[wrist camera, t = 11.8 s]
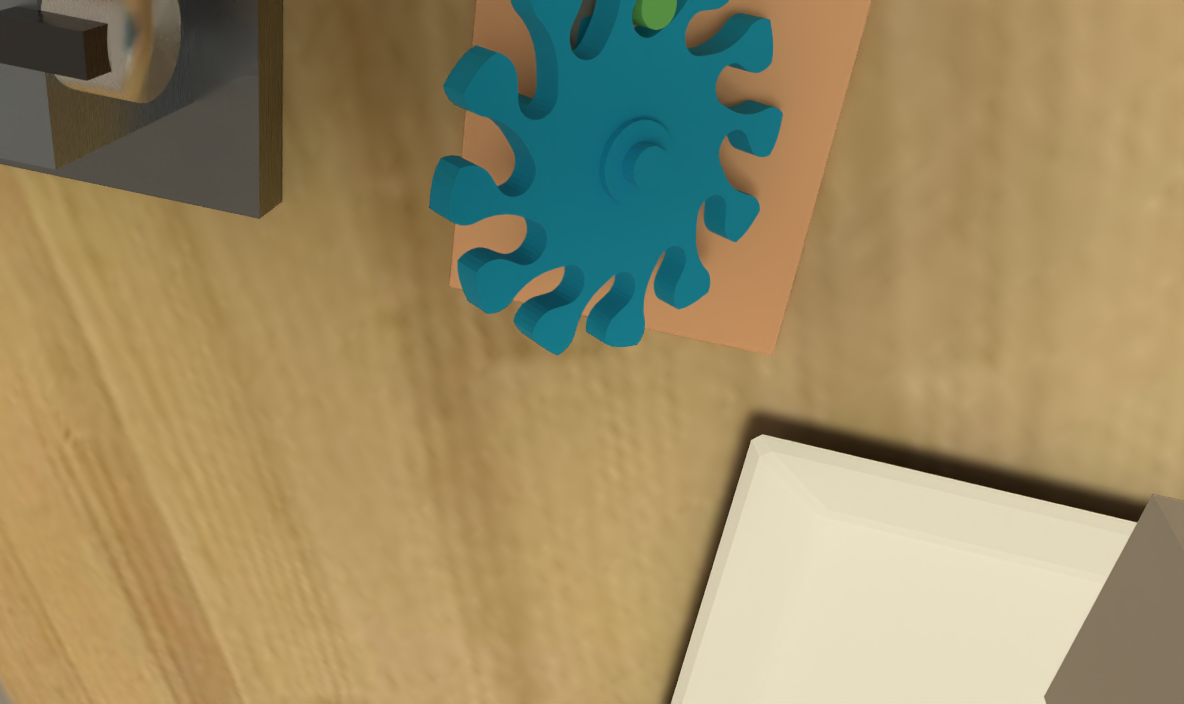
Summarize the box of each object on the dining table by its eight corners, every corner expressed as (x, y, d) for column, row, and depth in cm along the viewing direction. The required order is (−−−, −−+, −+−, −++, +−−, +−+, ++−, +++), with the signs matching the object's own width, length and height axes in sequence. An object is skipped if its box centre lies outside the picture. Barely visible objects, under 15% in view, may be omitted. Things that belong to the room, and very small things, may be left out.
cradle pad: (506, -288, 24) (503, -289, 23) (929, -214, 23) (931, -214, 23) (451, 282, 31) (449, 286, 31) (772, 351, 30) (772, 356, 30)
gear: (776, 310, 28) (470, 418, 23) (640, 243, 32) (354, 321, 27) (831, -125, 23) (453, -120, 18) (661, -138, 27) (311, -138, 22)
